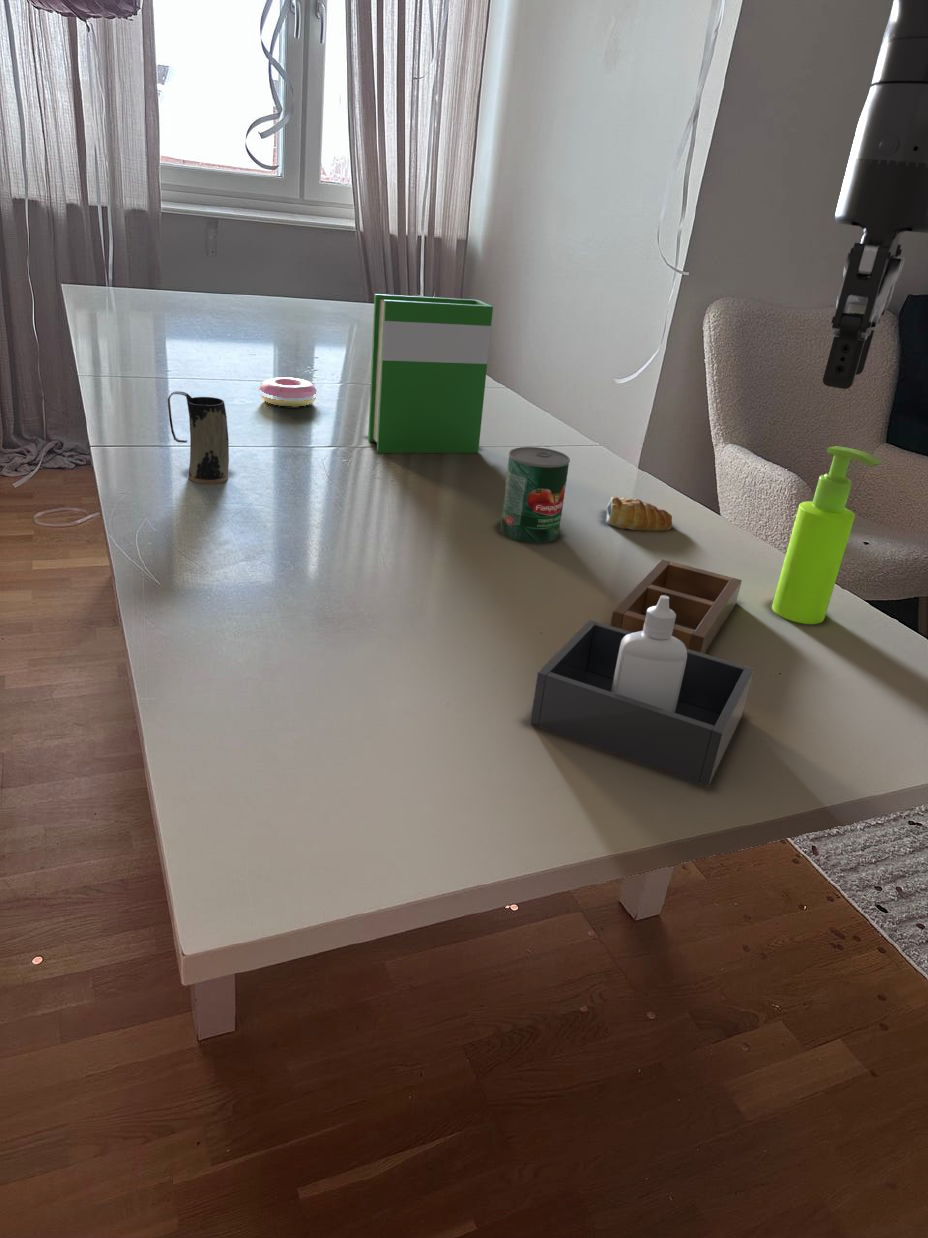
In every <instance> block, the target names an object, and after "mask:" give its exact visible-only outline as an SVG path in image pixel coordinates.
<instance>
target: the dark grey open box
mask: <svg viewBox="0 0 928 1238" xmlns="http://www.w3.org/2000/svg"><path fill="white" fill-rule="evenodd" d="M631 633H633V632H629V631H626V630H623V629H619V628H616V627H613V626H610V624H606V623H603V622H600V621H599V622H598V621H596V620H592V619H589V620H588V621H587V622H586V623H585V624H584V625H583V626H582V627H581V628H580V629H579V630H578V631H577V632H576V633H575V634H574V635H573V636H572V637H571V638H570V639H569V640H568V641H567V642H566V643H565V644H564V645H563V646H562V647H561V648H560V649H559V651H557V653H555V655H554V656H552V658H550V660H548V661H547V662H546V664H545V665H544V666H542V668H541V669H540V670H539V671H538V672H537V676H536V681H535V689H534V695H533V702H532V708H531V716H530V722H529V724H530V725H533V726H536V727H539V728H541V729H544V730H546V731H550V732H553V733H555V734H558V735H561V736H563V737H567V738H569V739H572V740H575V741H578V742H581V743H583V744H586V745H589V746H592V747H595V748H597V749H601V750H603V751H606V752H608V753H612V754H615V755H618V756H620V757H623V758H625V759H628V760H632V761H634V762H637V763H640V764H642V765H645V766H648V767H651V768H654V769H657V770H659V771H662V772H665V773H668V774H670V775H674V776H677V777H679V778H682V779H685V780H688V781H690V782H693V783H696V784H699V785H701V786H704V787H707V788H708V787H709V786H710V784H711V782H712V780H713V778H714V776H715V774H716V771H717V769H718V768H719V765H720V763H721V761H722V759H723V757H724V755H725V752H726V750H727V749H728V746H729V744H730V742H731V740H732V738H733V736H734V734H735V731H736V729H737V727H738V725H739V723H740V721H741V719H742V716H743V713H744V709H745V705H746V701H747V698H748V695H749V691H750V687H751V683H752V679H753V675H754V672H755V669H754V668H753V667H750V666H745V665H743V664H740V663H737V662H733V661H731V660H727V659H724V658H719V657H716V656H713V655H709V654H707V653H704V654H703V653H700V652H697V651H693V650H690V649H686V650H687V660H686V665H685V670H684V675H683V679H682V683H681V688H680V692H679V697H678V701H677V705H676V710H675V713H674V712H671V711H668V710H665V709H662V708H659V707H655V706H652V705H649V704H646V703H643V702H640V701H637V700H634V699H631V698H628V697H625V696H622V695H619V694H616V693H613V692H611V689H612V684H613V679H614V674H615V669H616V663H617V658H618V653H619V649H620V644H621V641H622V639H623V638H624V636H626V635H628V634H631Z"/></svg>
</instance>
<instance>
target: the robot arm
mask: <svg viewBox="0 0 928 1238" xmlns="http://www.w3.org/2000/svg"><path fill="white" fill-rule="evenodd" d="M840 189H841V190H840V193H839V197H838V201H837V204H836V205H837V206H836V209H835V214H834V219H835V222H836V223H838V224H840V225H845V226H853V227H854V226H856V227H860V228H861V229H862V231H863V235H862V237H861V241H860V242H854V244H853V247H851V248H850V251H849V252H848V253H847V255H846V258H845V261H844V264H843V271H842V277H843V278H842V281H841V283H840V286H839V290H838V293H837V295H836V302H835V309H836V310H835V314H834V316H832V318H831V324H832V326H831V330H832V336H833V340H832V343H831V347H830V351H829V355H828V359H827V362H826V366H825V370H824V374H823V378H822V383H823V384H824V385H825V386H826V387H831V388H836V389H837V388H838V389H841V390H847V389H850V388H851V387H852V386H853V384H854V382H855V379H856V376H859V375H860V374H862V373H863V372H864V370H865V366H866V362H867V359H868V356H869V352H870V348H871V345H872V341H873V339H874V335H875V330H874V329H876V330H877V329H878V326H880V325H881V322H882V316H885V312H886V309H888V308H889V306H890V302H891V300H892V297H893V293H894V289H895V286H896V283H897V282H898V281H899V278H900V276H901V273H902V270H903V267H904V263H905V257H901V254H902V253H903V248H902V244H899V242H900V237H901V236H902V235H903V234H904V233H905V232H912V233H923V234H928V0H893V2H892V6H891V11H890V15H889V18H888V21H887V24H886V27H885V30H884V34H883V37H882V40H881V44H880V48H879V52H878V56H877V60H876V64H875V68H874V72H873V75H872V79H871V86H870V88H869V92H868V95H867V98H866V101H865V103H864V106H863V109H862V111H861V114H860V116H859V119H858V123H857V125H856V129H855V133H854V137H853V142H852V145H851V150H850V154H849V157H848V162H847V166H846V170H845V173H844V177H843V181H842V185H841V188H840Z"/></svg>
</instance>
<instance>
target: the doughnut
mask: <svg viewBox="0 0 928 1238" xmlns="http://www.w3.org/2000/svg"><path fill="white" fill-rule="evenodd" d="M259 390H261V391H262V392H264V393H266V394H269V395H273V396H277V397H282V398H305V397H310V396H313V395H314V394H316V392H317V393H318V391H317V390H318V388H316V387H315V385H314V384H313V382H310V381H308V380H306V379H301V378H294V377H285V376H281V377H273V378H268V379H266V380H264V381H262V382H261V383H260V385H259ZM260 398H261V399H262V400H263V401H264V402H265V401H266V402H265V403H267V402H268V403H267V404H269V403H271V404H274V405H273V406H275V405H280V406H292V407H291V408H300V407H299V406H304V407H307V406H306V405H308V406H310V405H312V404H313V403H314V402H315V401H316V399H317V396H316V397H315V398H313V399H310V400H304V401H284V400H276V399H271V398H267V397H264V396H262V395H261V393H260ZM311 403H312V404H311ZM271 404H270V405H271ZM309 404H310V405H309ZM280 406H279V407H280Z"/></svg>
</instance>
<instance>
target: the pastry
mask: <svg viewBox="0 0 928 1238" xmlns="http://www.w3.org/2000/svg"><path fill="white" fill-rule="evenodd" d="M605 521H606V523H607V524H608V525H609V526H612V527H615V528H619V529H623V530H625V529H627V530H630V531H659V532H660V531H666V530H671V529H672V526H673V516H672V514H670V513H669V512H668V511H667V510H666V509H663V508H658V507H657V506H656V505H654V504H651V503H648V502H646V501H642V500H641V499H639V498H633V499H632V498H628V497H623V496H622V497H621V498H619V497H617V496H611V497H610V500H609V501H608V503H607V506H606V519H605Z"/></svg>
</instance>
